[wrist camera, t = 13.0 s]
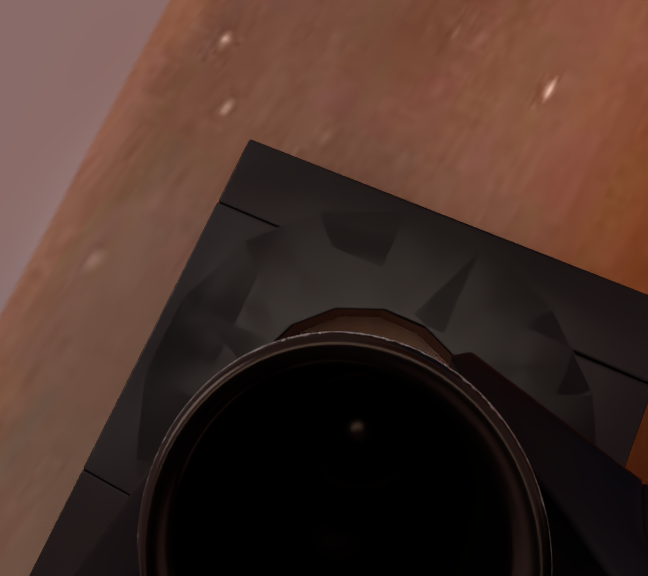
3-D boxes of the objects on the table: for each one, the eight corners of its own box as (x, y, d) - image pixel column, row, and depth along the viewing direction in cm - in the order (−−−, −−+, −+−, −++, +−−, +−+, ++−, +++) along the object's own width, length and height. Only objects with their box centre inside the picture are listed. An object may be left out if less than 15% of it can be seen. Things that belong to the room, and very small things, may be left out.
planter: (305, 346, 15) (186, 297, 5) (437, 372, 15) (579, 371, 5) (277, 482, 15) (82, 719, 5) (415, 515, 14) (530, 866, 4)
